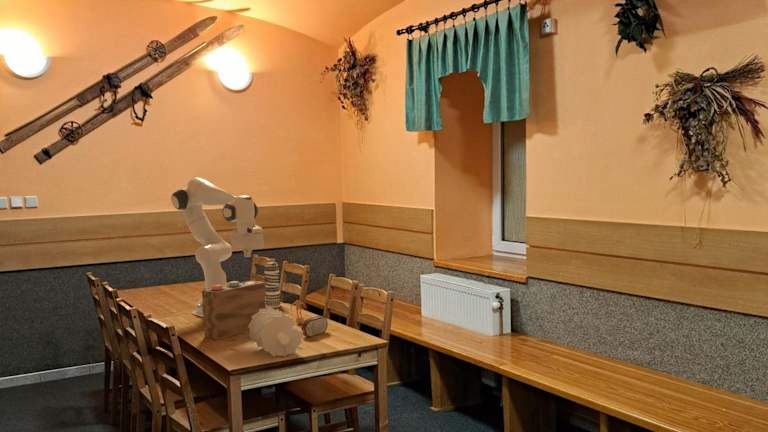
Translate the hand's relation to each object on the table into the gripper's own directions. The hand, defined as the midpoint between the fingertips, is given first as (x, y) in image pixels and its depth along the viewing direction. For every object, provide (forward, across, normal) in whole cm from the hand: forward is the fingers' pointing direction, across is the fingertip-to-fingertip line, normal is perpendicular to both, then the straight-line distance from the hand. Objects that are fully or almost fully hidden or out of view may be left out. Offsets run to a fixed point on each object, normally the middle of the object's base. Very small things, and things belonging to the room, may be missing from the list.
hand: (247, 256), depth 337 cm
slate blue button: (+14, 0, -9) cm, 17 cm away
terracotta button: (+14, 0, -19) cm, 24 cm away
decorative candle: (+35, -28, +42) cm, 61 cm away
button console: (+35, 0, -9) cm, 36 cm away
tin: (+36, +39, +4) cm, 53 cm away
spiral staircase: (+35, +44, -26) cm, 62 cm away
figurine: (+35, +16, +18) cm, 43 cm away
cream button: (+16, 0, +1) cm, 16 cm away
